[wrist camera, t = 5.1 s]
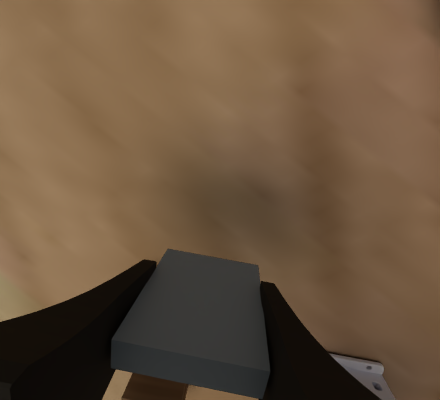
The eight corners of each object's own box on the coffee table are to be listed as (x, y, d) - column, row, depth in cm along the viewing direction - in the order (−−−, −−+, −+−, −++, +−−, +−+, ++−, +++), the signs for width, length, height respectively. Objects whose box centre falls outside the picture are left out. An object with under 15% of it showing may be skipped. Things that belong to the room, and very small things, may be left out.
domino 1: (147, 339, 26) (121, 397, 21) (193, 347, 26) (179, 409, 20) (147, 347, 27) (121, 407, 21) (192, 356, 26) (178, 419, 21)
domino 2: (167, 248, 13) (111, 339, 8) (258, 265, 13) (270, 371, 7) (165, 267, 14) (110, 368, 8) (253, 284, 13) (262, 399, 8)
